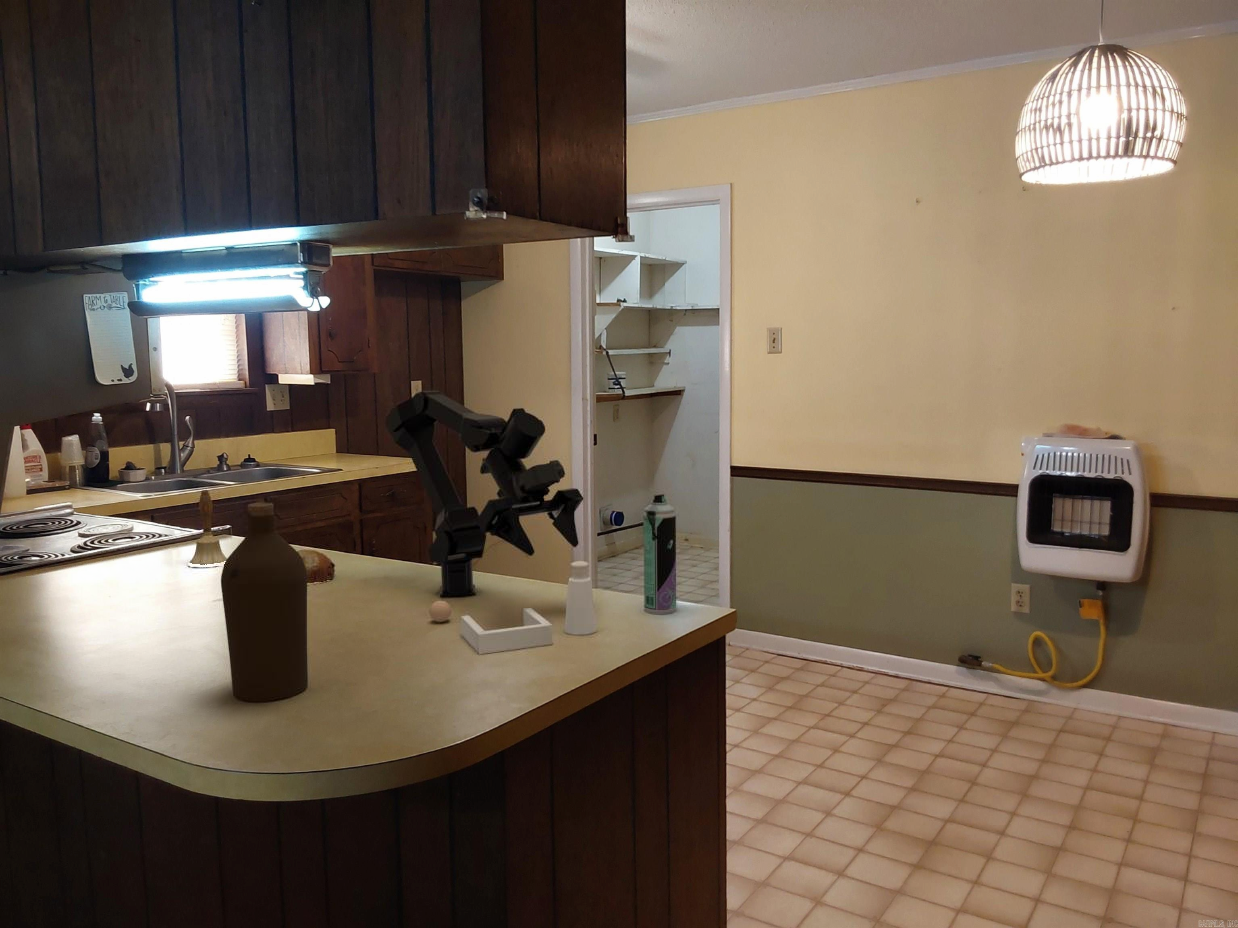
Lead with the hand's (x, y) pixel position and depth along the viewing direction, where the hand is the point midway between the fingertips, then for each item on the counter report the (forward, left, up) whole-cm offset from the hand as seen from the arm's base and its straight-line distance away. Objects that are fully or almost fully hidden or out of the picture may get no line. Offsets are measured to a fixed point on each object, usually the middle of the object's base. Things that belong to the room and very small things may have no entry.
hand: (555, 549), depth 156 cm
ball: (-5, -19, -12) cm, 23 cm away
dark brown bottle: (+23, -41, -12) cm, 48 cm away
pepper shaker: (+5, +3, -12) cm, 14 cm away
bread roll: (-41, -45, -13) cm, 62 cm away
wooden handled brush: (-61, -68, -12) cm, 92 cm away
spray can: (-4, +18, -12) cm, 22 cm away
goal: (+7, -9, -12) cm, 17 cm away
